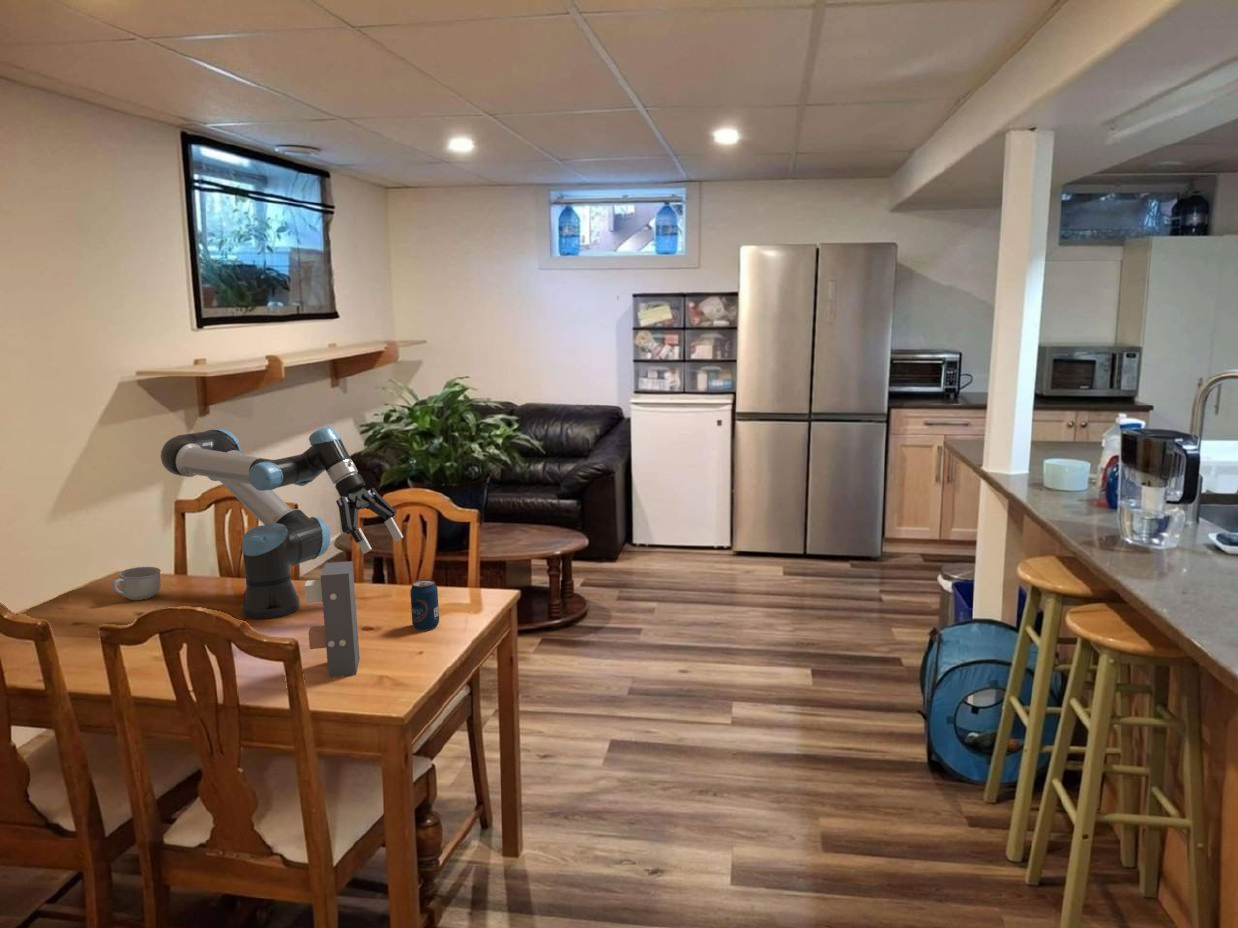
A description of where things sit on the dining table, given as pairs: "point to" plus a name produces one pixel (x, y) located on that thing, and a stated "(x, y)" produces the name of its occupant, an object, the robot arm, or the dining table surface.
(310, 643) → the brown cube
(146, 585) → the teacup
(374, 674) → the dining table surface
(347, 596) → the post
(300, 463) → the robot arm
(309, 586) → the light grey cube
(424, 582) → the soda can
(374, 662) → the dining table surface
